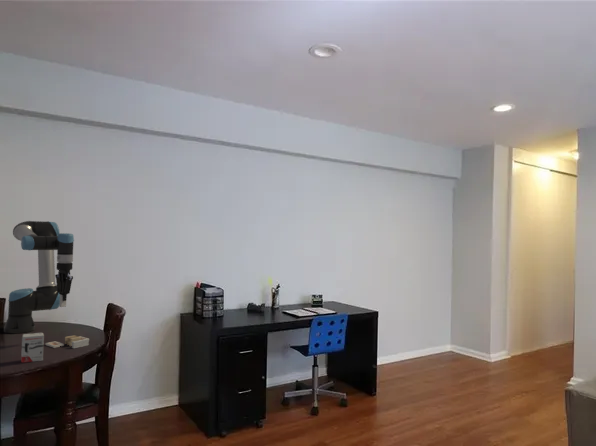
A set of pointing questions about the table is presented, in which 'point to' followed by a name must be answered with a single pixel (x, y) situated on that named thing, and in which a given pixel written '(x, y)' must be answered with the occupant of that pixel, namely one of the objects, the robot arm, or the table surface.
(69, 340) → the maple block
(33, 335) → the ink box
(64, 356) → the table surface
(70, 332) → the table surface
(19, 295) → the robot arm
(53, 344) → the trap pits
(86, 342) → the block
